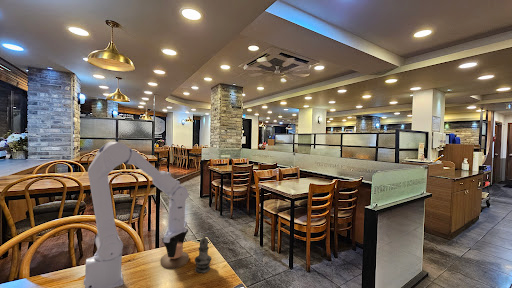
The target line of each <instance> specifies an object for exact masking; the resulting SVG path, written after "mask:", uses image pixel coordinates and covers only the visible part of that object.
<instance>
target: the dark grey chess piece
mask: <svg viewBox="0 0 512 288" xmlns="http://www.w3.org/2000/svg"><path fill="white" fill-rule="evenodd" d="M208 253H209V239H208V238H206V236H205V235H203V237H202V238H201V239H200V240H199V247H198V255H197V256H196V257H195V258H194V262H195V269H194V272H196V273H198V274H206V273H208V272H209V271H211V266H210V264H211V261H212V259H213V258H212V257H211V256H210V255H209V254H208Z"/></svg>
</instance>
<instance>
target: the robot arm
mask: <svg viewBox="0 0 512 288" xmlns="http://www.w3.org/2000/svg"><path fill="white" fill-rule="evenodd" d="M123 163H124V164H126V165H132V166H135V167H137V168H138V169H139V170H140V171H142V172H143V173H145V174H146V175H148V176H149V177H150V178H151V179H152V185H154V186H155V187H156V188H158V189H159V190H160V191H161V192H163V193H164V194H165V195H167V197H168V198H169V201H168V202H169V203H168V219H167V220H168V222H167V223H168V224H167V229H166V232H165V235H164V236H163V238H162V239H161V240H162V243H163V244H164V246H165V249H166V254H168V257H174V256H175V252H176V247H177V243H178V241H179V242H182V243H183V244H184V241H185V238H186V236H187V235H188V234H187V233H188V232H189V229H188V228H187V226H188V225H187V224H188V221H187V220H185V215H186V201H187V199H188V198H189V194H190V193H189V192H188V189H187V187H185V186H183V185H181V181H179V180H176V179H175V178H174V177H173V176H172V173H171V172H169V171H165V170H160V171H159V169H157V168H156V167H155V166H154V165H153V164H152V163H150V162H149V161H148V160H147V159H146V158H145V157H143V155H142V154H140V153H139V152H138V151H135V150H134V149H133V148H131V147H129V146H127V144H125V143H123V142H118V141H115V140H113V141H108V142H106V143H104V145H102V146H101V147H100V148H99V149H98V151H97V152H96V155H95V156H94V158H93V159H92V161H91V163H90V165H89V166H88V168H87V175H88V180H89V188H90V193H91V199H92V204H93V205H92V207H93V212H94V217H95V224H96V231H97V232H96V236H95V239H94V243H95V245H96V249H97V250H96V252H95V253H94V255H93V256H91V257H88V258H86V259H85V272H84V278H83V286H84V288H118V287H121V286H123V285H124V279H123V278H124V277H123V273H122V272H123V271H122V260H123V249H124V243H123V241H122V240H121V238H120V236H119V232H118V230H117V226H116V222H115V215H114V209H113V202H112V201H113V200H112V196H111V189H110V188H111V187H110V182H109V181H110V180H109V174H110V173H111V172H112V171H113V170H114V169H115V168H116V167H118V166H120V165H122V164H123Z"/></svg>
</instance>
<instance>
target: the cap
mask: <svg viewBox="0 0 512 288" xmlns="http://www.w3.org/2000/svg"><path fill="white" fill-rule="evenodd" d="M183 245H184V242H183V243H182V242H179V241H178V243H177V247H176V252H175V256H174V257H169V258H172V259H175V258H179V257H181V256H182V254H183V252H184V246H183Z"/></svg>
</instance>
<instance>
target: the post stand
mask: <svg viewBox="0 0 512 288" xmlns="http://www.w3.org/2000/svg"><path fill="white" fill-rule="evenodd" d="M189 260H190V255H189V254H188V253H187V252H185V251H183V254H182V256H181V257H179V258H175V259H172V258H169V257H168V254H167V253H165V254H163V255H162V256H161V258H160V260H159V261H160V266H161V267H162V268H164V269H170V270H171V269H178V268H181V267H184V266H186V264H188V262H189Z"/></svg>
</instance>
